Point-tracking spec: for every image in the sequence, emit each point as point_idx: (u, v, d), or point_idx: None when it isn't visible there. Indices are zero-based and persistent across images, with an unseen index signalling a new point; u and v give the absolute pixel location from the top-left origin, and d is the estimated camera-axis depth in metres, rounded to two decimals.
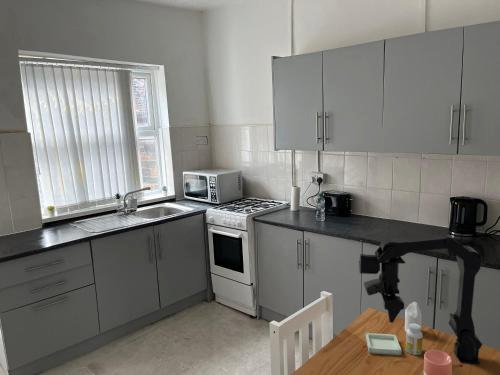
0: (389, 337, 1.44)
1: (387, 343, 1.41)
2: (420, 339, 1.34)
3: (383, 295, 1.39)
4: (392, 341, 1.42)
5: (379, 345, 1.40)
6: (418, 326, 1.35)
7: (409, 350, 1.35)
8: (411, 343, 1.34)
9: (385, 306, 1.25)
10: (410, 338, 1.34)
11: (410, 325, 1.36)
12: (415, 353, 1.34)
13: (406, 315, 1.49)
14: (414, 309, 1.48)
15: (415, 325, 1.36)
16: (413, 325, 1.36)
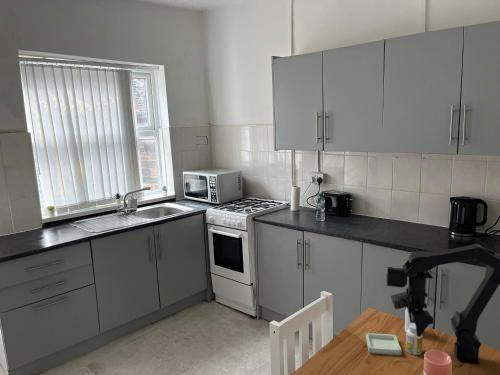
0: (389, 337, 1.44)
1: (387, 343, 1.41)
2: (420, 339, 1.34)
3: (409, 308, 1.40)
4: (392, 341, 1.42)
5: (379, 345, 1.40)
6: None
7: (409, 350, 1.35)
8: (411, 343, 1.34)
9: (414, 320, 1.26)
10: (410, 338, 1.34)
11: (410, 325, 1.36)
12: (415, 353, 1.34)
13: (406, 315, 1.49)
14: None
15: None
16: (413, 325, 1.36)
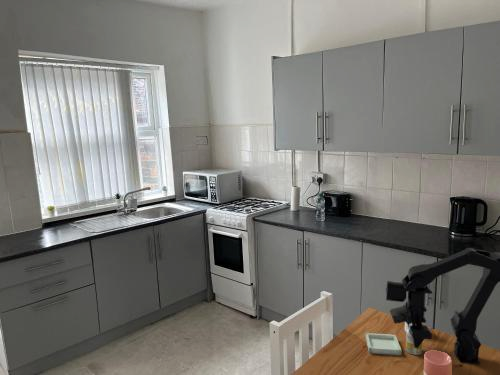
0: (389, 337, 1.44)
1: (387, 343, 1.41)
2: None
3: None
4: (392, 341, 1.42)
5: (379, 345, 1.40)
6: None
7: (409, 350, 1.35)
8: (411, 343, 1.34)
9: (413, 336, 1.27)
10: (410, 338, 1.34)
11: (410, 325, 1.36)
12: (415, 353, 1.34)
13: None
14: None
15: None
16: None
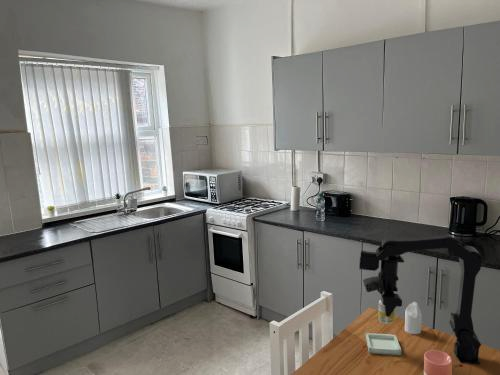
0: (389, 337, 1.44)
1: (387, 343, 1.41)
2: None
3: None
4: (392, 341, 1.42)
5: (379, 345, 1.40)
6: None
7: (381, 319, 1.37)
8: (383, 312, 1.36)
9: (383, 303, 1.28)
10: (382, 307, 1.35)
11: None
12: (387, 322, 1.36)
13: (406, 315, 1.49)
14: (414, 309, 1.48)
15: None
16: None
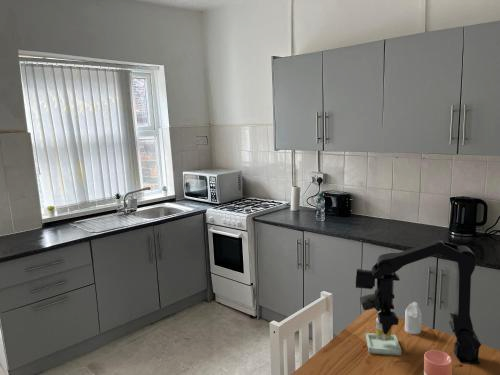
0: None
1: (387, 343, 1.41)
2: None
3: (379, 312, 1.41)
4: (392, 341, 1.42)
5: (379, 345, 1.40)
6: None
7: (378, 337, 1.38)
8: (380, 329, 1.37)
9: (380, 321, 1.30)
10: (379, 325, 1.37)
11: None
12: (384, 340, 1.37)
13: (406, 315, 1.49)
14: (414, 309, 1.48)
15: None
16: None
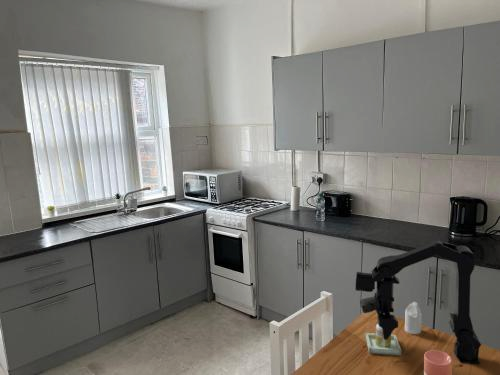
0: None
1: None
2: None
3: (378, 312, 1.43)
4: (392, 341, 1.42)
5: None
6: None
7: (378, 344, 1.38)
8: (380, 337, 1.37)
9: (380, 324, 1.30)
10: (379, 332, 1.37)
11: None
12: (384, 347, 1.37)
13: (406, 315, 1.49)
14: (414, 309, 1.48)
15: None
16: None
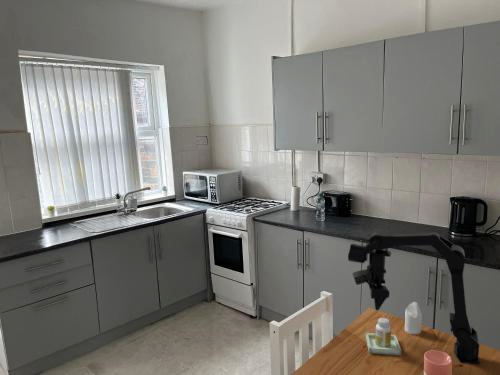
0: None
1: None
2: (388, 333, 1.37)
3: (370, 285, 1.48)
4: (392, 341, 1.42)
5: None
6: (387, 320, 1.38)
7: (378, 344, 1.38)
8: (380, 337, 1.37)
9: (372, 294, 1.35)
10: (379, 332, 1.37)
11: (379, 319, 1.39)
12: (384, 347, 1.37)
13: (406, 315, 1.49)
14: (414, 309, 1.48)
15: (384, 319, 1.39)
16: (382, 319, 1.39)
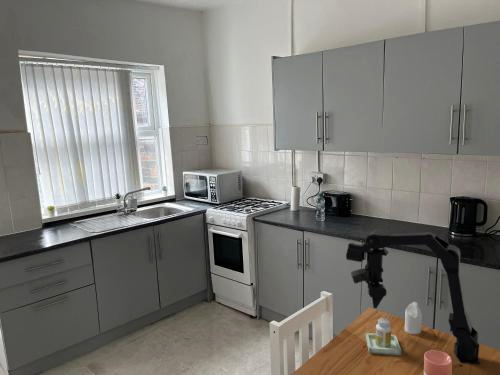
0: None
1: None
2: (388, 333, 1.37)
3: (369, 284, 1.51)
4: (392, 341, 1.42)
5: None
6: (387, 320, 1.38)
7: (378, 344, 1.38)
8: (380, 337, 1.37)
9: (369, 293, 1.37)
10: (379, 332, 1.37)
11: (379, 319, 1.39)
12: (384, 347, 1.37)
13: (406, 315, 1.49)
14: (414, 309, 1.48)
15: (384, 319, 1.39)
16: (382, 319, 1.39)
